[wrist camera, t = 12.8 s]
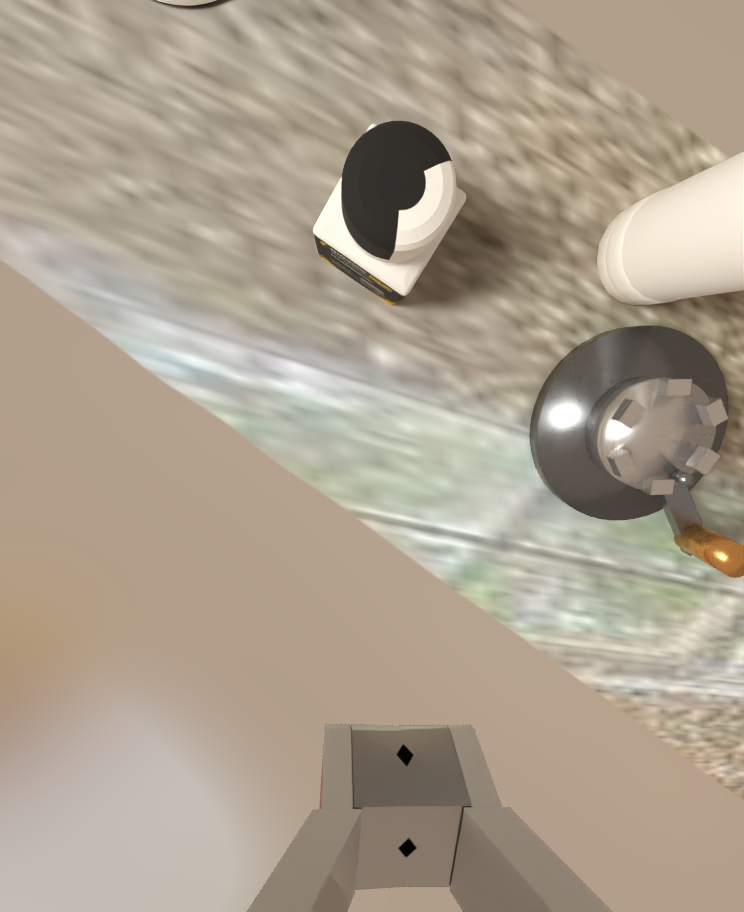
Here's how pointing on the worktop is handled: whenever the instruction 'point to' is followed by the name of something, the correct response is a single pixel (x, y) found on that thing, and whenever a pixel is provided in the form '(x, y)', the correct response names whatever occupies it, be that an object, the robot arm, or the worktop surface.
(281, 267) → the worktop surface
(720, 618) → the worktop surface
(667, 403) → the crank handle dial
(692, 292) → the bottle
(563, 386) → the flange
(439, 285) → the worktop surface
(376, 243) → the medicine bottle
